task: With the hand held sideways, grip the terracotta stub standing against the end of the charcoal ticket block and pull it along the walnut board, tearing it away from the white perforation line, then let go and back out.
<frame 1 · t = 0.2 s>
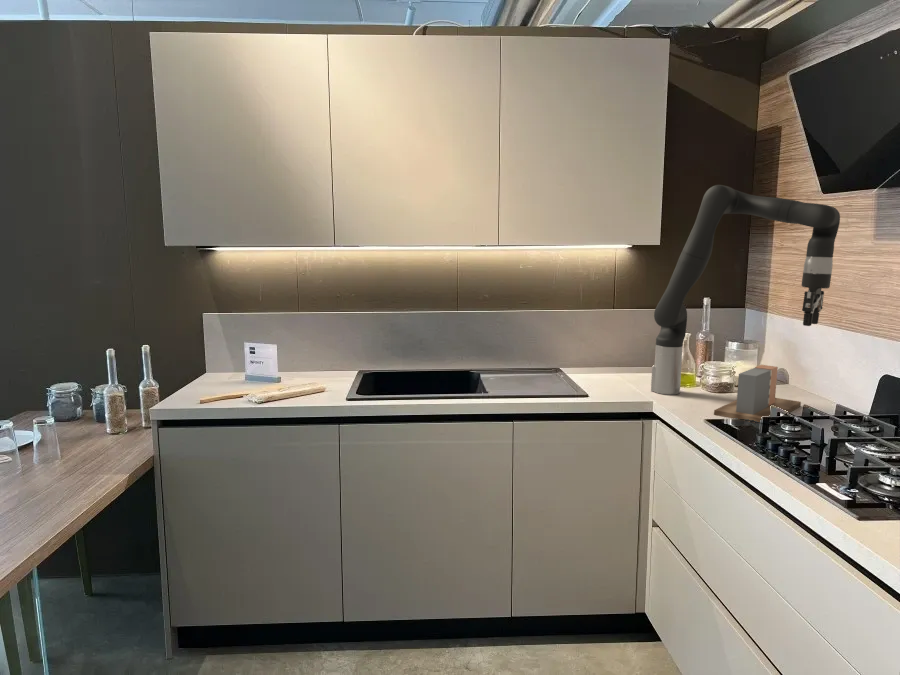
hand: (810, 324, 191), 29 cm above the worktop, tool pointing down, fingers open, 8 cm apart
terracotta stub: (764, 384, 202), point 8 cm above the worktop, slide at 0.0 cm
charcoal ticket block: (752, 409, 195), resting on walnut board
walnut board: (758, 410, 200), on the worktop
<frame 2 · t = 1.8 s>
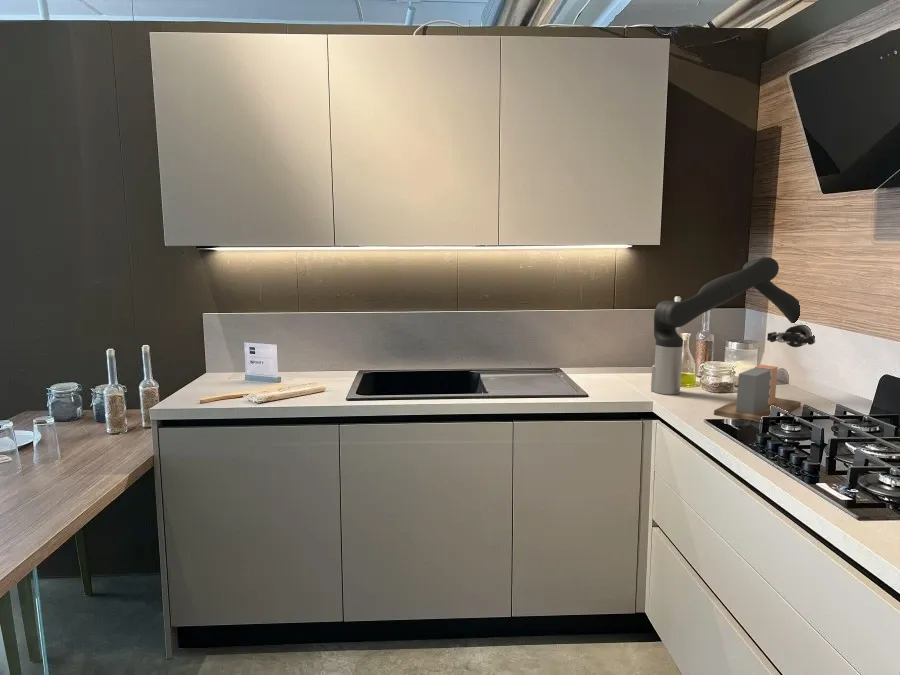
hand: (784, 340, 212), 21 cm above the worktop, tool horizontal, fingers open, 8 cm apart
nothing on the worktop moved.
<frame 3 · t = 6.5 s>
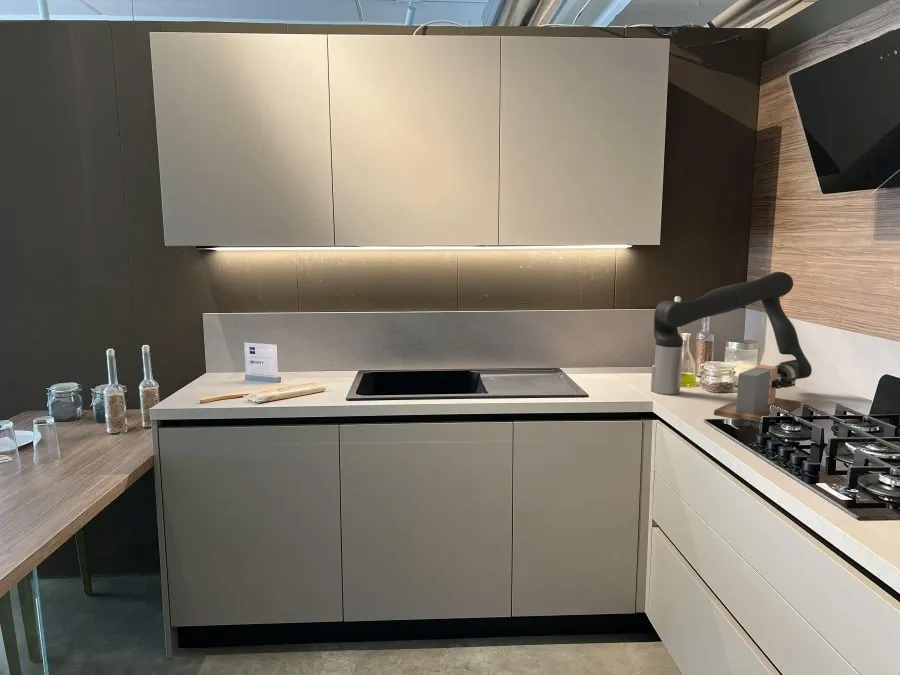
hand: (763, 383, 201), 8 cm above the worktop, tool horizontal, fingers closed on terracotta stub, 5 cm apart
terracotta stub: (764, 384, 202), point 8 cm above the worktop, slide at 0.0 cm, touching gripper
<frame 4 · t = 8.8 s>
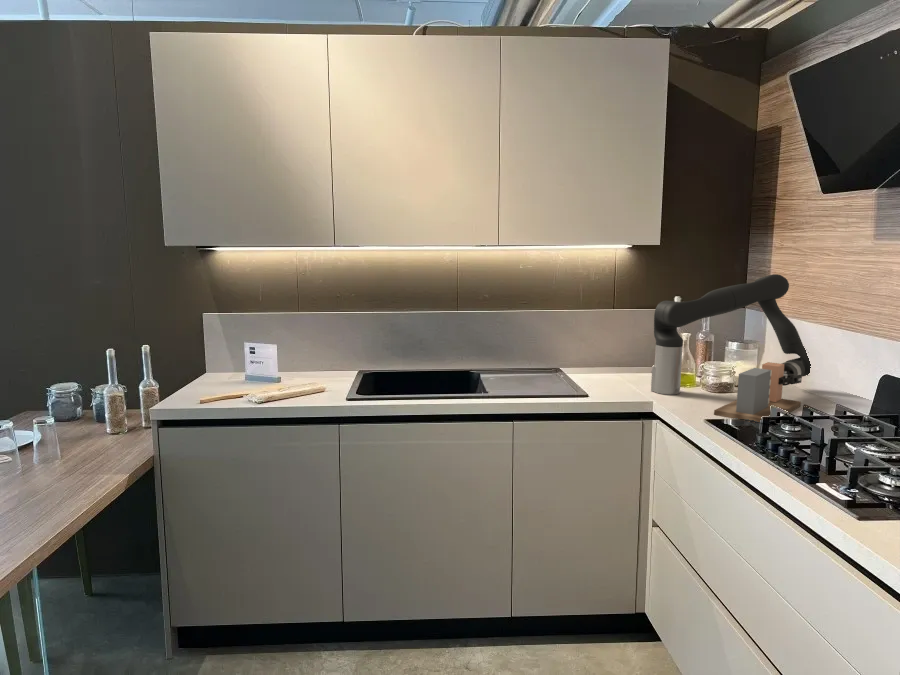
hand: (770, 380, 205), 8 cm above the worktop, tool horizontal, fingers closed on terracotta stub, 5 cm apart
terracotta stub: (771, 381, 207), point 8 cm above the worktop, slide at 6.9 cm, touching gripper
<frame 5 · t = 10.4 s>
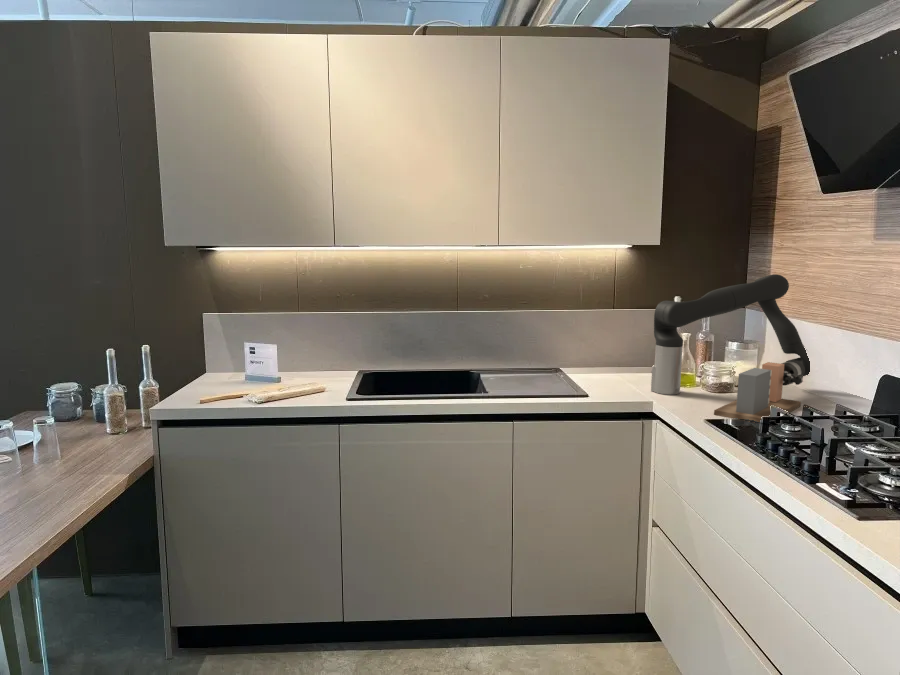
hand: (771, 379, 206), 8 cm above the worktop, tool horizontal, fingers open, 8 cm apart
terracotta stub: (771, 381, 207), point 8 cm above the worktop, slide at 7.0 cm
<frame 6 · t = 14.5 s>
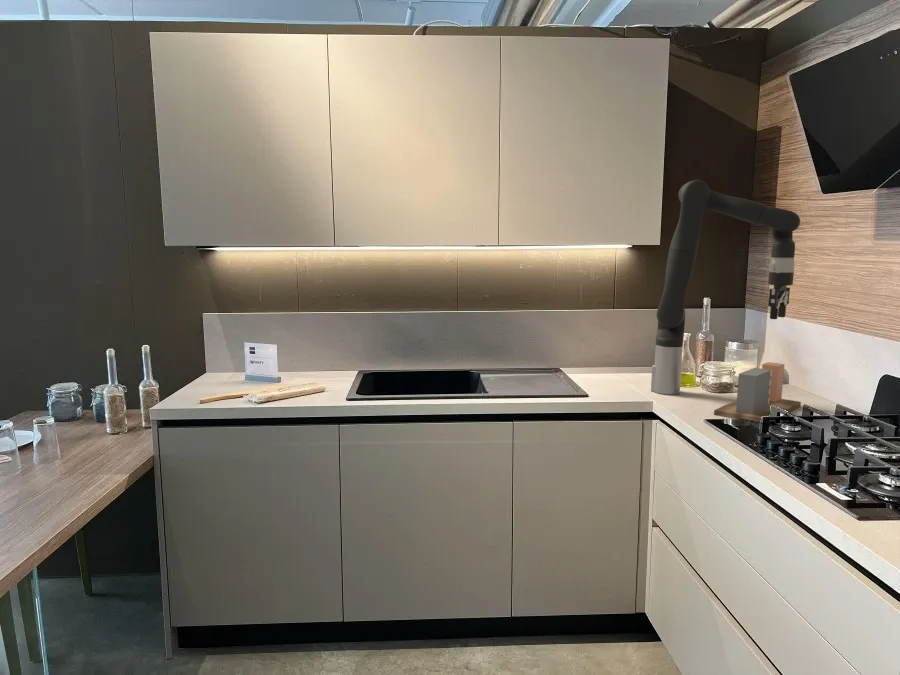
hand: (777, 318, 214), 28 cm above the worktop, tool pointing down, fingers open, 8 cm apart
nothing on the worktop moved.
at the end: terracotta stub slide at 7.0 cm; the gripper is holding nothing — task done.
